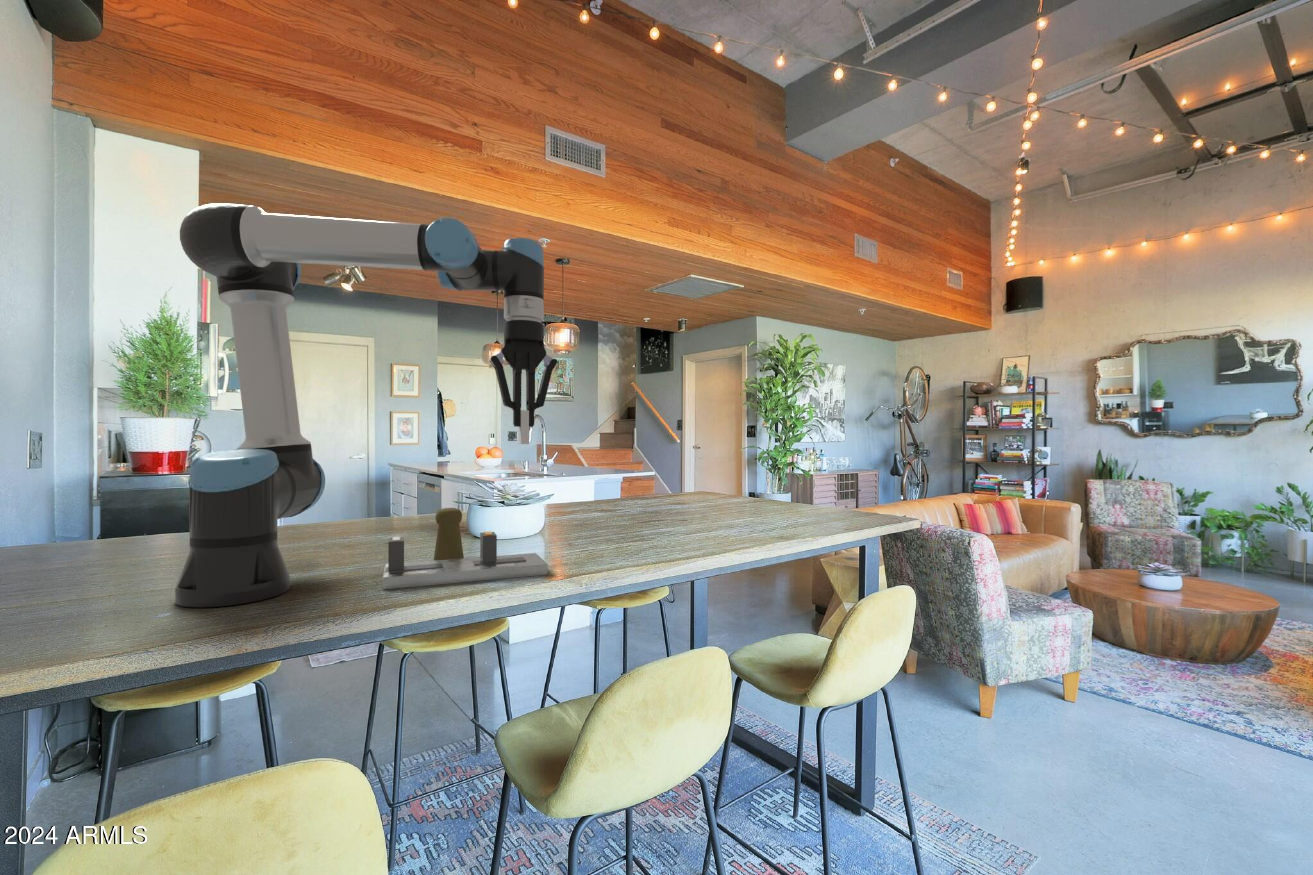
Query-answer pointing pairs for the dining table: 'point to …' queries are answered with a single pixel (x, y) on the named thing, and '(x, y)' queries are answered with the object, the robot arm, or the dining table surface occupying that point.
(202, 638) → the dining table surface
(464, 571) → the panel
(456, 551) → the cork
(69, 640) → the dining table surface
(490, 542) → the block
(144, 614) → the dining table surface
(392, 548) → the block
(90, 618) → the dining table surface
